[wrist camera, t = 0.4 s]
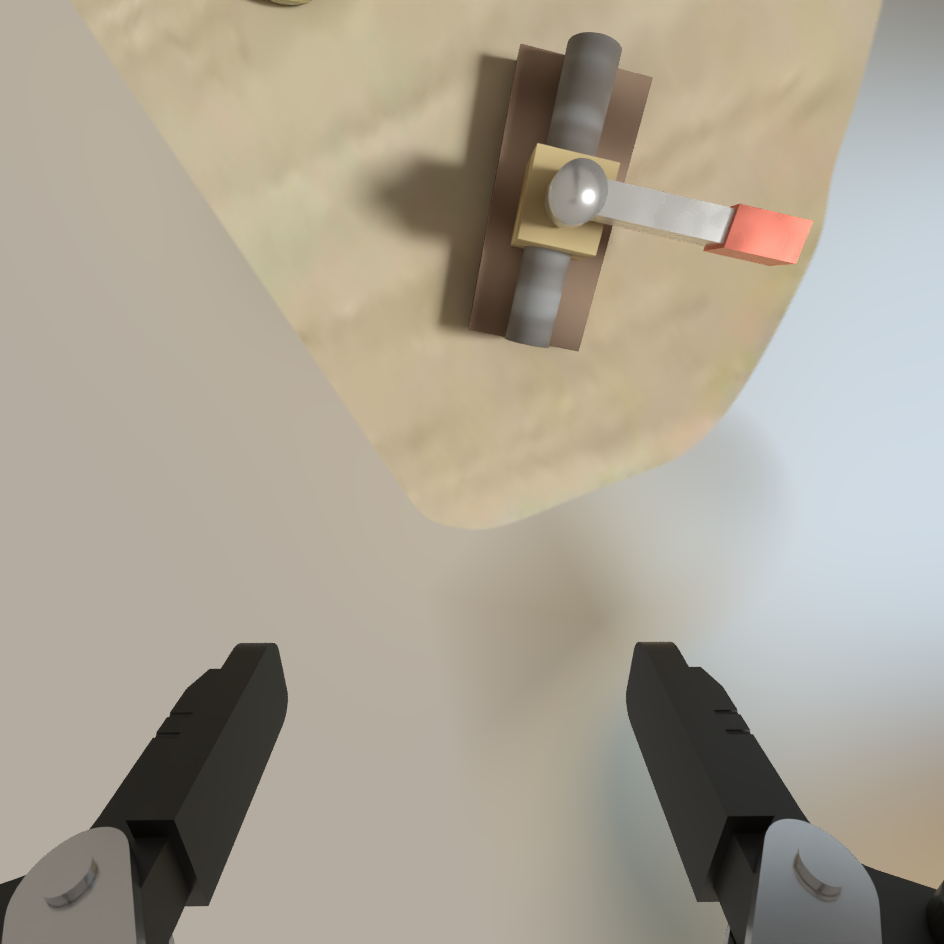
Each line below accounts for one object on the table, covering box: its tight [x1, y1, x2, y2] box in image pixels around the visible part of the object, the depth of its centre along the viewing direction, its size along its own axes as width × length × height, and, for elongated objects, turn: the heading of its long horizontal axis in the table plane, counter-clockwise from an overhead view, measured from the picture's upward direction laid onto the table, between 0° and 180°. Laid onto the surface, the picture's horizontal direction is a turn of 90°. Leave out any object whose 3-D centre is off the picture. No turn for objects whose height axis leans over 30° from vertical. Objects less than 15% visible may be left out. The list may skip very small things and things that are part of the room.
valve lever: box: [544, 158, 813, 266], centre depth 24 cm, size 13×3×2 cm, turn 79°
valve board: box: [469, 32, 652, 351], centre depth 28 cm, size 16×8×7 cm, turn 169°
